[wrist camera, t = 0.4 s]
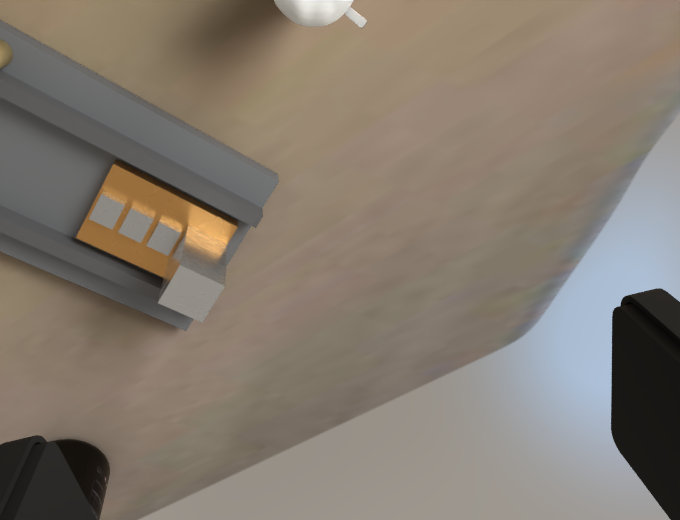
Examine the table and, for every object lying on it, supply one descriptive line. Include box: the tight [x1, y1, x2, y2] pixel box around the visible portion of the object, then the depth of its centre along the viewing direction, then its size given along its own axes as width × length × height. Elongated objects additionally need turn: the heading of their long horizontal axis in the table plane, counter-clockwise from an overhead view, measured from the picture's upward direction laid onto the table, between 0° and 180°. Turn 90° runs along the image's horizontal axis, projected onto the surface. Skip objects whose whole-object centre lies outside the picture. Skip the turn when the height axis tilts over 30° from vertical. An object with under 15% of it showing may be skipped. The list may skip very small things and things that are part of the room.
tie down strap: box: [76, 159, 238, 322], centre depth 40 cm, size 9×6×7 cm, turn 57°
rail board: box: [0, 20, 279, 331], centre depth 40 cm, size 20×14×8 cm
